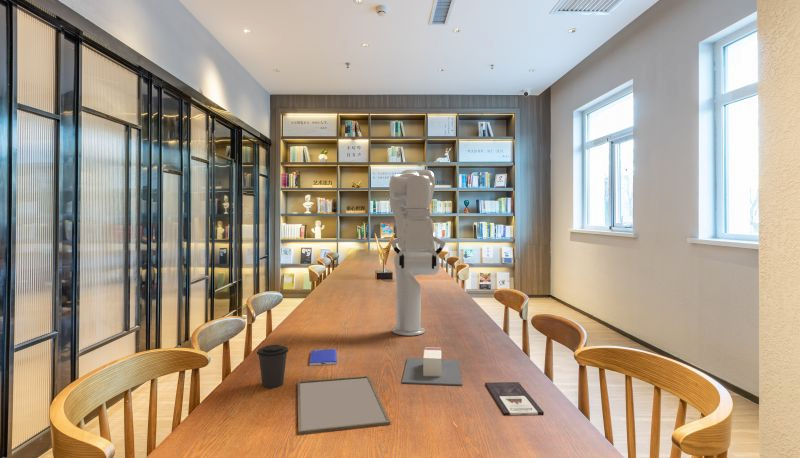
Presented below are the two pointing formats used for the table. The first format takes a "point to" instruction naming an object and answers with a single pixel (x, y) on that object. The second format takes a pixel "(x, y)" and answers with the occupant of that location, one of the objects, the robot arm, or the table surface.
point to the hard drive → (323, 357)
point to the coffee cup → (272, 365)
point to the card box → (432, 361)
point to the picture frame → (339, 405)
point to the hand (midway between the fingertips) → (417, 268)
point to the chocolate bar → (513, 399)
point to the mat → (448, 376)
